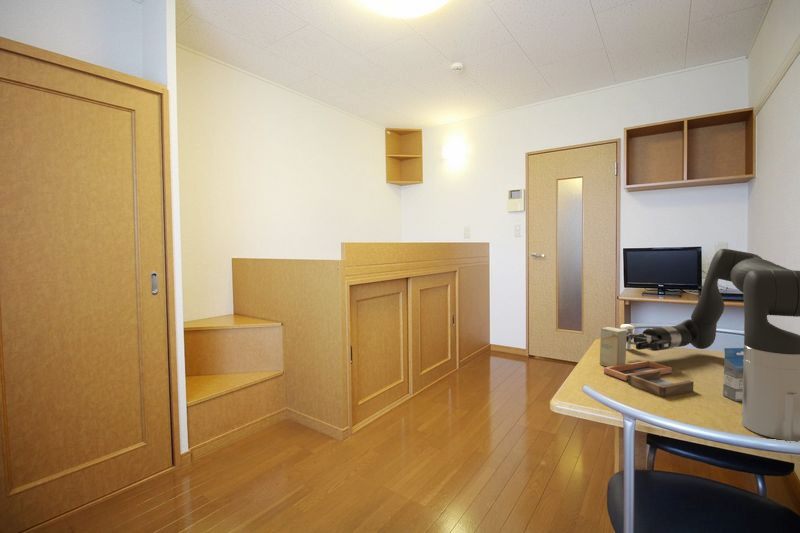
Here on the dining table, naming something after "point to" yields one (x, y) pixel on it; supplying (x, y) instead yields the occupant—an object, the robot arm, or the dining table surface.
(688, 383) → the walled bay
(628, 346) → the milkshake
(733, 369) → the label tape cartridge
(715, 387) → the dining table surface
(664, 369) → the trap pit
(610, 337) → the skincare box
